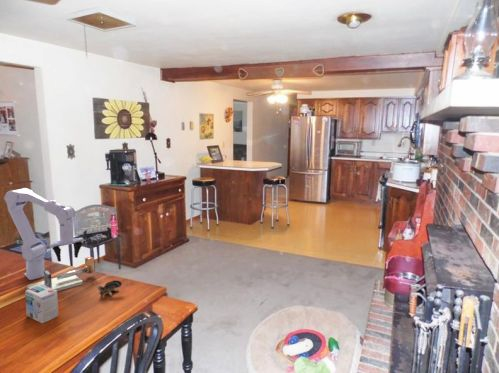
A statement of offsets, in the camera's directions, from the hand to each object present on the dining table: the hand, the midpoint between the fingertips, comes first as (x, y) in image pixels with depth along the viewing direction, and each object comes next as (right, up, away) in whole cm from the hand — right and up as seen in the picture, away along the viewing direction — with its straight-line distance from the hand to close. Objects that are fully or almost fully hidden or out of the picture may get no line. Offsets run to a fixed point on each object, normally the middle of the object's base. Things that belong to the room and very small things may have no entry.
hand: (67, 259), depth 165 cm
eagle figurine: (+25, -14, -12) cm, 31 cm away
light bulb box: (+7, -16, -31) cm, 36 cm away
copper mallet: (+4, -8, 0) cm, 9 cm away
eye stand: (-2, -11, -6) cm, 13 cm away
